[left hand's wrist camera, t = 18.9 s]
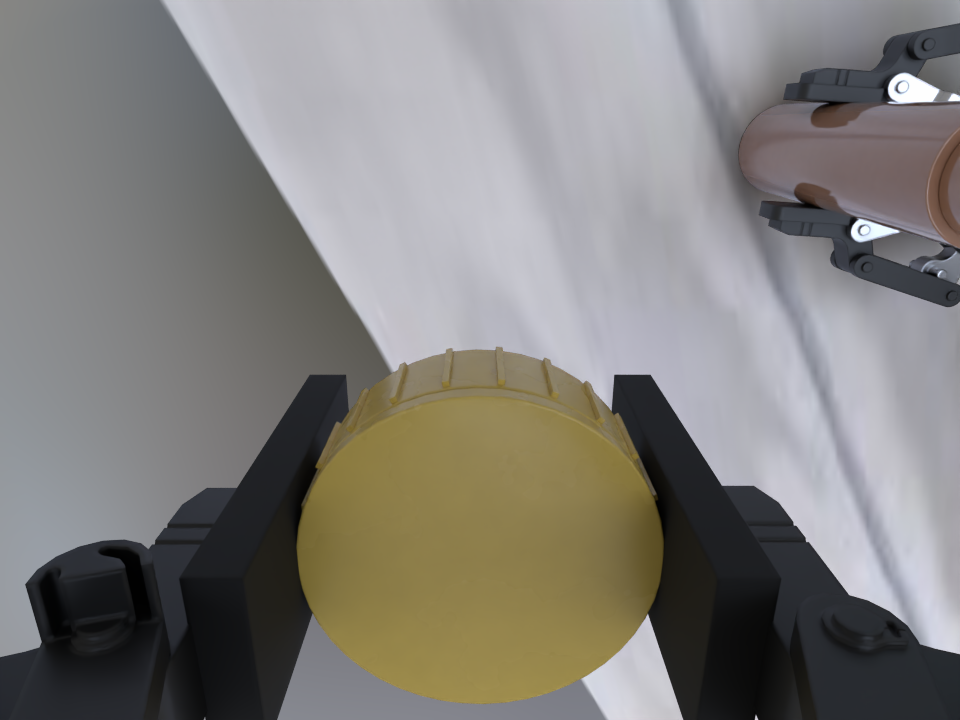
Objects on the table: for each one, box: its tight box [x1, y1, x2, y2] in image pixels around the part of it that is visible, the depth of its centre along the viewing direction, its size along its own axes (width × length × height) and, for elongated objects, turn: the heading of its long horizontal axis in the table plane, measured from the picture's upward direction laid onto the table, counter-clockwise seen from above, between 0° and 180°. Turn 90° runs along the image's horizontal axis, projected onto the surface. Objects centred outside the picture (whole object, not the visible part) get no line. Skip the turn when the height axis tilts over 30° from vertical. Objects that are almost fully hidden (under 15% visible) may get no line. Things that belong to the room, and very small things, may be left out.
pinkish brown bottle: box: [739, 101, 960, 249], centre depth 29 cm, size 5×5×19 cm
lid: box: [296, 347, 664, 704], centre depth 11 cm, size 6×6×2 cm
